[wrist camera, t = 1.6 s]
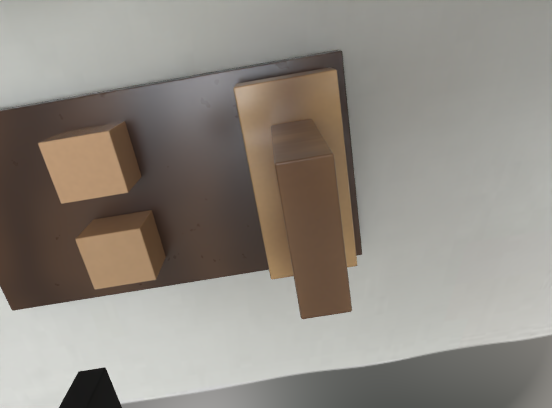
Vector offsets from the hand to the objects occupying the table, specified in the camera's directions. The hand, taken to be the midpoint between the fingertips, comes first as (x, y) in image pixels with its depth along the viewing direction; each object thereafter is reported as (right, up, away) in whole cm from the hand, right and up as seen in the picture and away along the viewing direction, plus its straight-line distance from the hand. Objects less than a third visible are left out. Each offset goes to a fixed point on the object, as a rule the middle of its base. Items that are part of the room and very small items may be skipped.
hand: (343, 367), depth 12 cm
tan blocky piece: (-13, +2, +19) cm, 23 cm away
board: (-10, +6, +19) cm, 23 cm away
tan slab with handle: (0, +7, +18) cm, 19 cm away
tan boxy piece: (-14, +8, +17) cm, 23 cm away
